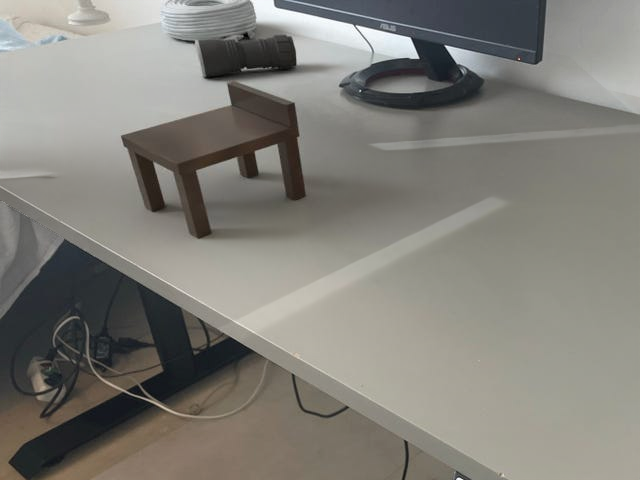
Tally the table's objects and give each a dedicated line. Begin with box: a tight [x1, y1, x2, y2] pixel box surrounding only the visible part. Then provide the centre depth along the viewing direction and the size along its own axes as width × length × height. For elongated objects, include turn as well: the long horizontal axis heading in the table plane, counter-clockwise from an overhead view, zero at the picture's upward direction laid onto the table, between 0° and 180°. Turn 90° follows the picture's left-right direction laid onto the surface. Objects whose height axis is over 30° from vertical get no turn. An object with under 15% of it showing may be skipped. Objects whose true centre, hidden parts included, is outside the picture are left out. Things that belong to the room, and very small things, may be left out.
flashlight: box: [194, 34, 298, 78], centre depth 116 cm, size 15×5×5 cm, turn 113°
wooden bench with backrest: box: [120, 80, 307, 239], centre depth 76 cm, size 14×11×10 cm
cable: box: [160, 0, 257, 43], centre depth 136 cm, size 18×18×6 cm
